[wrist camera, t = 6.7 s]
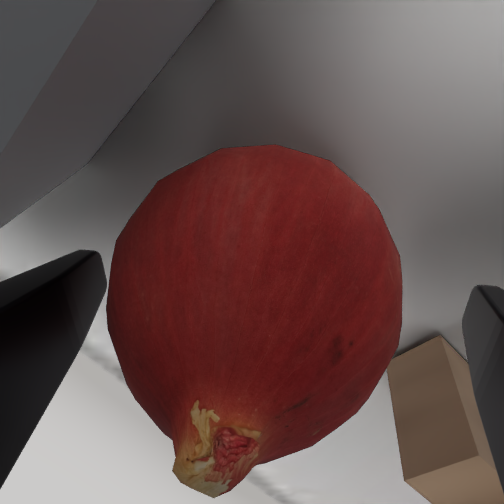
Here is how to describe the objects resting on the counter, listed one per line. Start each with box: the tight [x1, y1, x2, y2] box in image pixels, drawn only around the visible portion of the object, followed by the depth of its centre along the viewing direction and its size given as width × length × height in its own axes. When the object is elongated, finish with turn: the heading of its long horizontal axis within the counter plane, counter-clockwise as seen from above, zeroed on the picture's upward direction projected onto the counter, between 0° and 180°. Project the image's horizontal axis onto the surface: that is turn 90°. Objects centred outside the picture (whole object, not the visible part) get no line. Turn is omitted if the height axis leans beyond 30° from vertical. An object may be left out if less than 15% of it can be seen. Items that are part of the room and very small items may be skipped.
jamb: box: [0, 0, 216, 228], centre depth 8 cm, size 2×6×6 cm, turn 135°
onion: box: [106, 144, 402, 498], centre depth 9 cm, size 6×6×8 cm
